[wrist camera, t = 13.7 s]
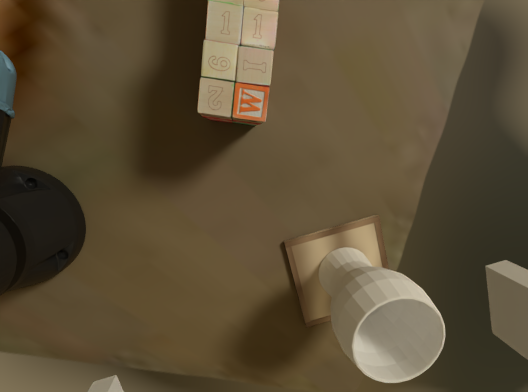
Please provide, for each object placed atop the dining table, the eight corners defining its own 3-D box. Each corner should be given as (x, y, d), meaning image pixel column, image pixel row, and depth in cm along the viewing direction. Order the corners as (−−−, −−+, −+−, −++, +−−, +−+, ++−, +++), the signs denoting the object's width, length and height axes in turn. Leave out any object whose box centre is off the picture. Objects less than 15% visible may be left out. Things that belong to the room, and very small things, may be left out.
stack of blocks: (225, -68, 34) (219, -180, 22) (278, -57, 35) (301, -159, 23) (208, 121, 38) (195, 113, 26) (256, 127, 39) (265, 122, 27)
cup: (369, 227, 42) (440, 275, 27) (386, 291, 44) (459, 367, 30) (299, 251, 42) (333, 313, 27) (319, 314, 44) (360, 402, 29)
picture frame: (305, 324, 45) (306, 327, 44) (283, 241, 42) (284, 242, 41) (392, 298, 45) (394, 301, 45) (376, 214, 42) (379, 215, 42)
